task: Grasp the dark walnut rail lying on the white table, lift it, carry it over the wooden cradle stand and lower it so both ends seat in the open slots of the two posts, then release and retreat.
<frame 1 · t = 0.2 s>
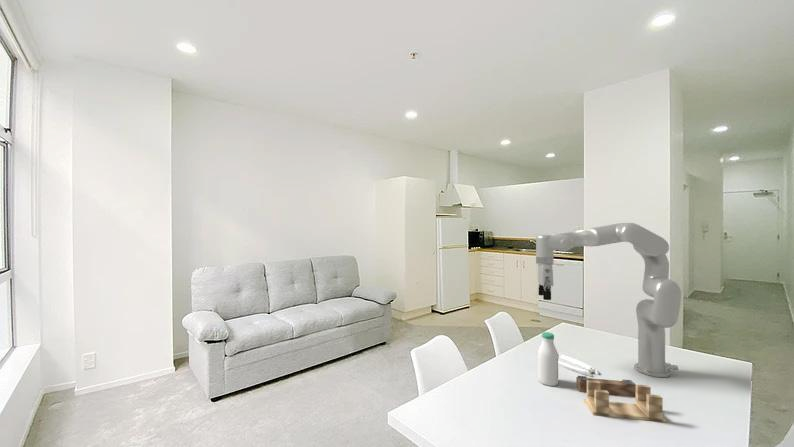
hand: (544, 297, 155), 31 cm above the table, tool pointing down, fingers open, 9 cm apart
door handle: (568, 366, 153), on the table
rail: (605, 393, 128), on the table
wooden cradle stand: (622, 411, 115), on the table
milk bottle: (547, 382, 136), on the table
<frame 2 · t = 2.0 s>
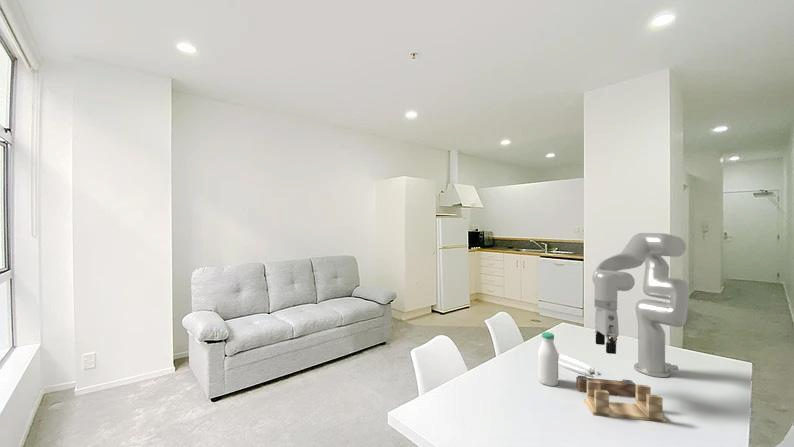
hand: (605, 348, 128), 17 cm above the table, tool pointing down, fingers open, 9 cm apart
nothing on the table moved.
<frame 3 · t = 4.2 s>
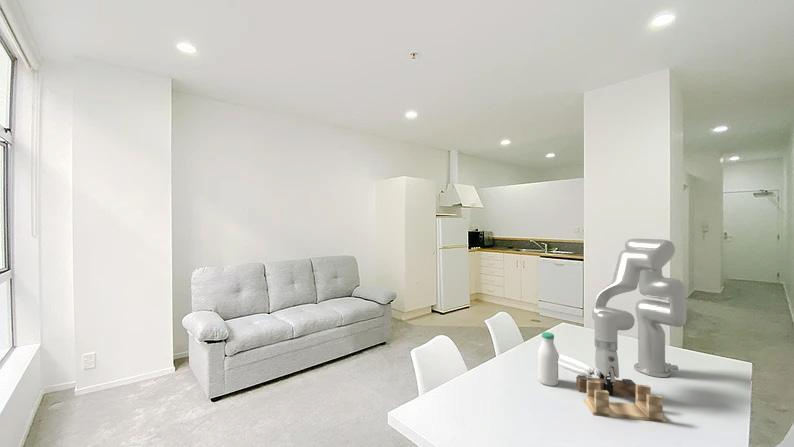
hand: (605, 390, 128), 1 cm above the table, tool pointing down, fingers closed on rail, 3 cm apart
rail: (605, 392, 128), on the table, touching gripper
everything else where it was.
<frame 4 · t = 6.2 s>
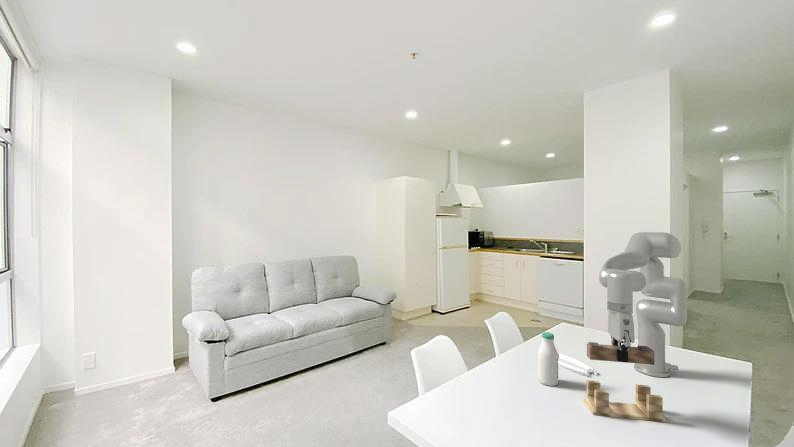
hand: (619, 358, 117), 18 cm above the table, tool pointing down, fingers closed on rail, 3 cm apart
rail: (619, 360, 117), point 17 cm above the table, touching gripper
everything else where it was.
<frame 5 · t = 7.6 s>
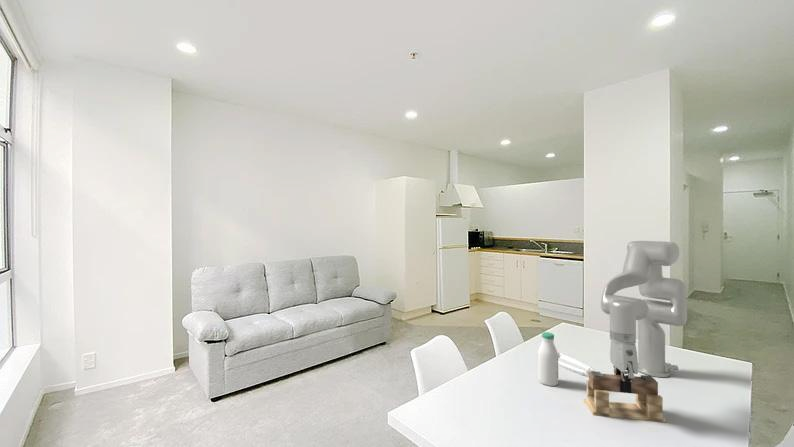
hand: (622, 388, 115), 8 cm above the table, tool pointing down, fingers closed on rail, 3 cm apart
rail: (622, 390, 115), point 7 cm above the table, touching gripper
everything else where it was.
when the fingers open (4 cm above the table, at t = 8.6 s): rail stays where it is, resting on wooden cradle stand.
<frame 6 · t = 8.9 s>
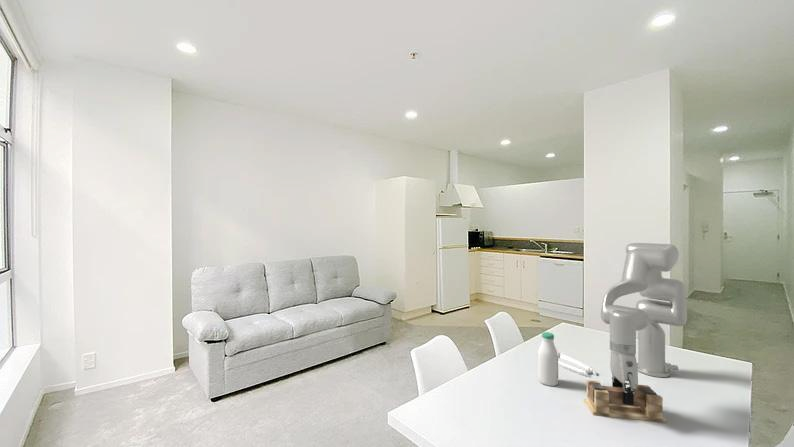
hand: (622, 398, 115), 5 cm above the table, tool pointing down, fingers open, 6 cm apart
rail: (622, 402, 115), point 3 cm above the table, touching wooden cradle stand
everything else where it was.
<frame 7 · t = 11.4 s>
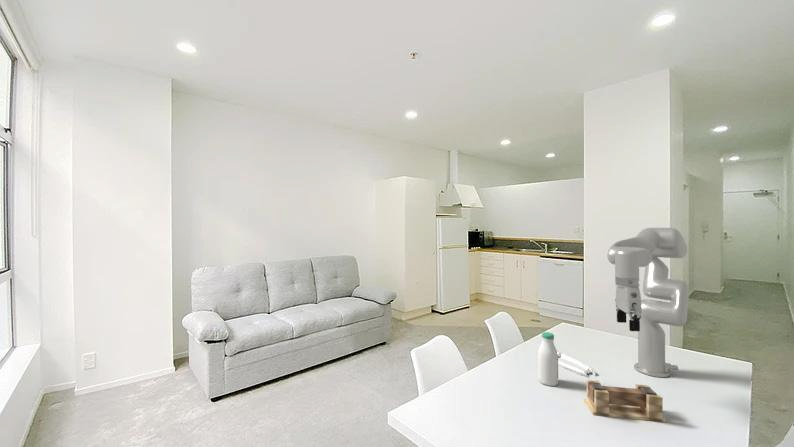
hand: (627, 326, 126), 26 cm above the table, tool pointing down, fingers open, 9 cm apart
nothing on the table moved.
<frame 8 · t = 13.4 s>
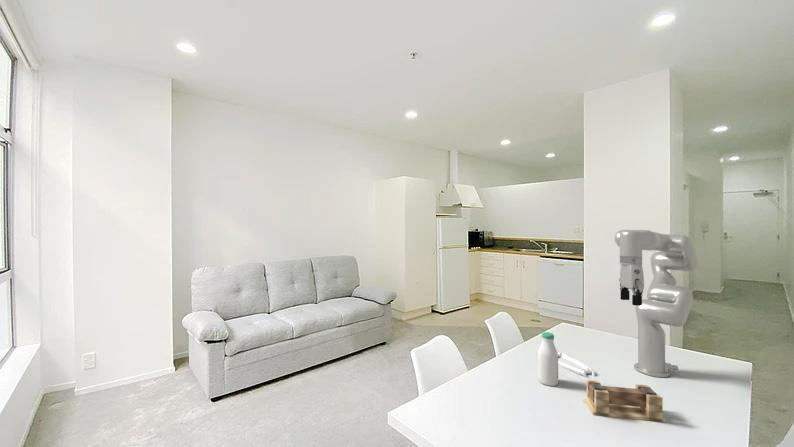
hand: (630, 302, 135), 33 cm above the table, tool pointing down, fingers open, 9 cm apart
at the end: rail 0.1 cm off-centre on the wooden cradle stand, point 3.0 cm above the wooden cradle stand's base; rail tilted 0°; the gripper is holding nothing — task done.
